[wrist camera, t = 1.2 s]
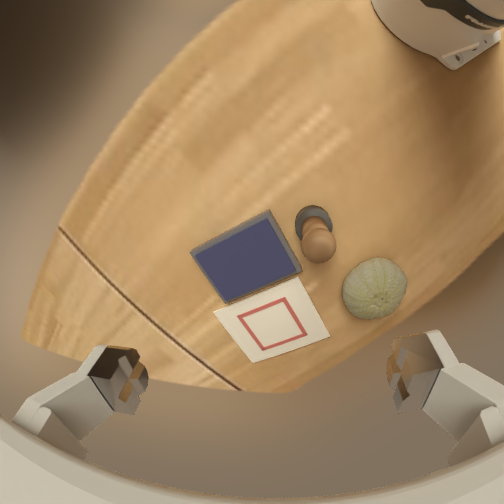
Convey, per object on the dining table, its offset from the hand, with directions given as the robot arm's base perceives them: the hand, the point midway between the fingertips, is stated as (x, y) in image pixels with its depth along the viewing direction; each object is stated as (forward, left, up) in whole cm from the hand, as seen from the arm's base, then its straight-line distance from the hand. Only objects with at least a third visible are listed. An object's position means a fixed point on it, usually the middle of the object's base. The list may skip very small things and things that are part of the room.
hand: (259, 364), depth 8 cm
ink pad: (+9, +7, -28) cm, 30 cm away
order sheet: (+11, +18, -28) cm, 35 cm away
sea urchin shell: (-5, +18, -28) cm, 34 cm away
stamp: (-1, +6, -28) cm, 29 cm away
